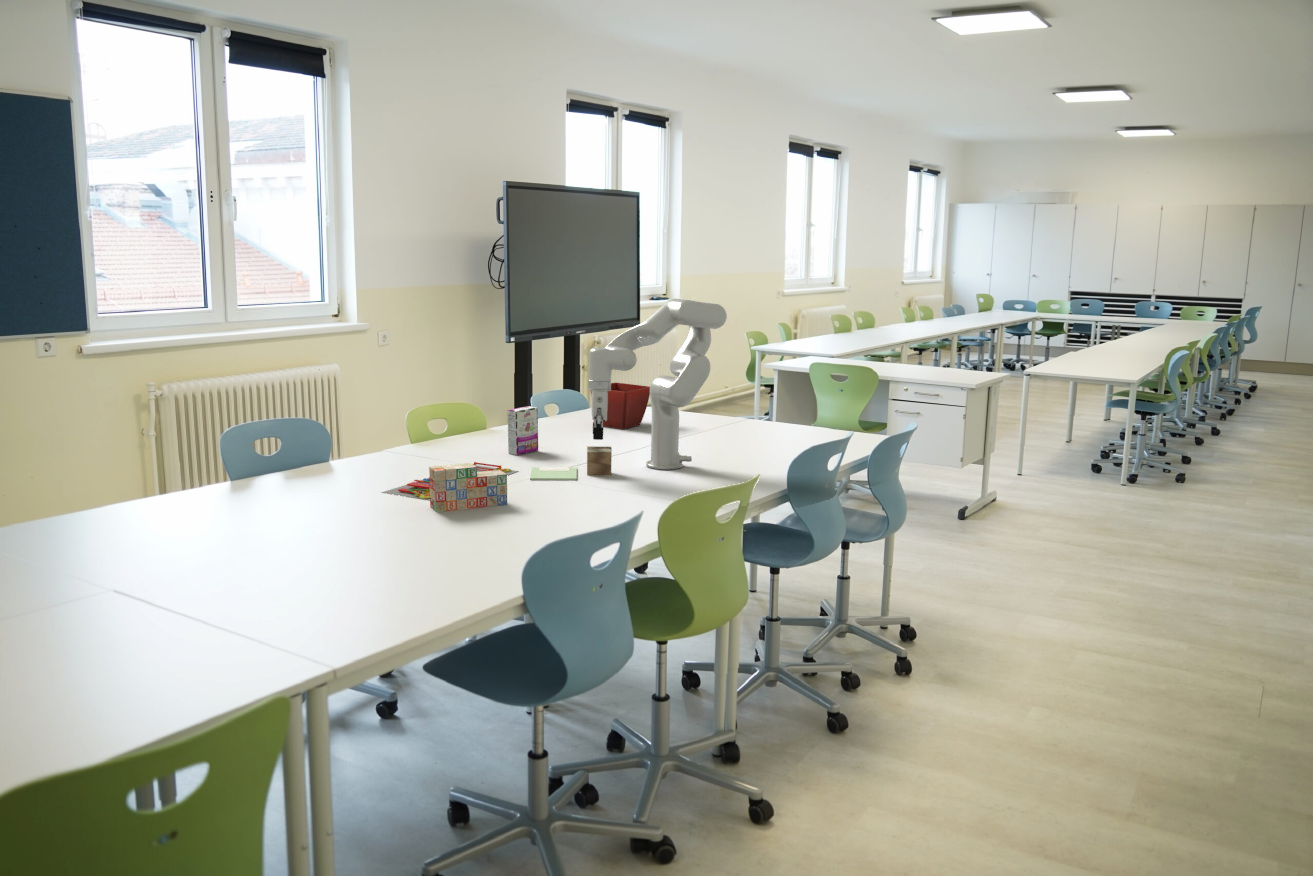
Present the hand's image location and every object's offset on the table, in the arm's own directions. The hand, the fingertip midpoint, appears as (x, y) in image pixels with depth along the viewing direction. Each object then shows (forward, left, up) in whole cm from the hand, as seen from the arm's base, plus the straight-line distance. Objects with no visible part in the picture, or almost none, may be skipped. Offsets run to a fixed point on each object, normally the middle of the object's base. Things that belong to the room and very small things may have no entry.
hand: (597, 436), depth 326 cm
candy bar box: (+26, -34, -13) cm, 45 cm away
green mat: (+14, +1, -13) cm, 19 cm away
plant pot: (-12, -89, -13) cm, 91 cm away
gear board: (+46, +11, -14) cm, 49 cm away
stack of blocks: (+38, +40, -13) cm, 57 cm away
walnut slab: (-1, 0, -13) cm, 13 cm away
